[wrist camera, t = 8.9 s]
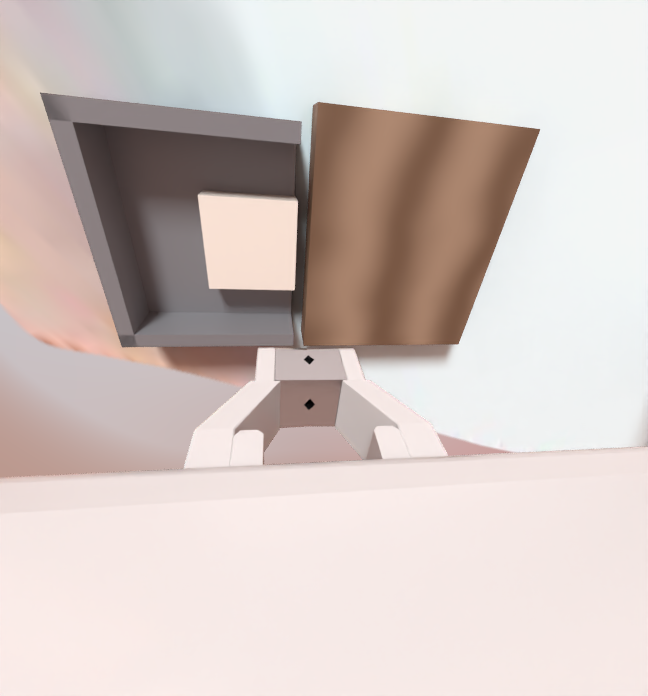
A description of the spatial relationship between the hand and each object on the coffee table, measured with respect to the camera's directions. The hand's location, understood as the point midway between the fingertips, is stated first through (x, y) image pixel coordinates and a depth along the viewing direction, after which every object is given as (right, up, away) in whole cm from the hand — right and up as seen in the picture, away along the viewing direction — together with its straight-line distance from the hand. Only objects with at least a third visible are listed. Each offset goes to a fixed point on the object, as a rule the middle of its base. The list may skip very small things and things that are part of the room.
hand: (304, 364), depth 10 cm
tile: (-4, +8, +13) cm, 16 cm away
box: (-8, +9, +12) cm, 17 cm away
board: (+6, +9, +15) cm, 18 cm away
